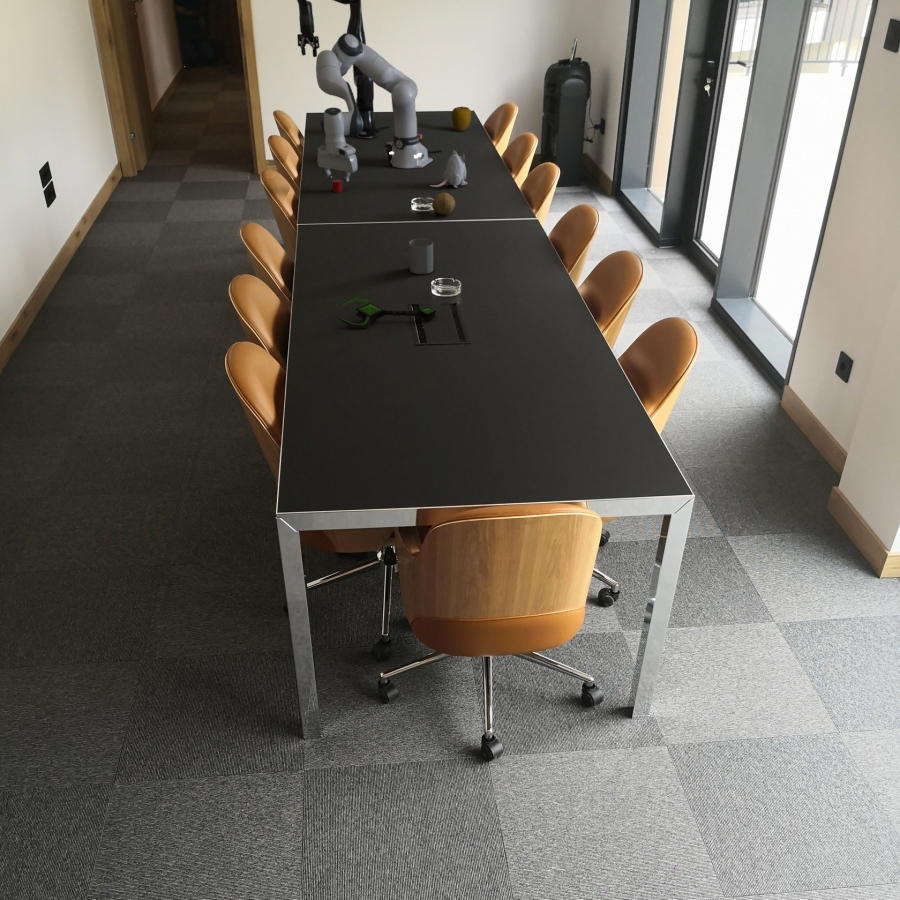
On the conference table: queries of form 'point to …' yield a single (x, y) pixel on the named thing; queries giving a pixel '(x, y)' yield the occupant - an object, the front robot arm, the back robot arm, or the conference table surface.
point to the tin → (337, 185)
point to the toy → (454, 171)
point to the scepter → (383, 312)
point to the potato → (443, 203)
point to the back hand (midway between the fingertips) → (309, 56)
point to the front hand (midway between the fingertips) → (338, 179)
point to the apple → (461, 118)
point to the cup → (421, 256)
